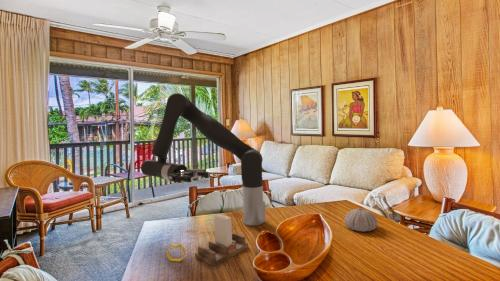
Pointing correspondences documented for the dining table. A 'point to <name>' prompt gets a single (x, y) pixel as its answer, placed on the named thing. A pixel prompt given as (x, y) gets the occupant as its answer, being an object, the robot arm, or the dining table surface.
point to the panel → (223, 230)
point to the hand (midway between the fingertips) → (199, 177)
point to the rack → (221, 250)
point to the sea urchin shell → (360, 220)
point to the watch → (176, 245)
